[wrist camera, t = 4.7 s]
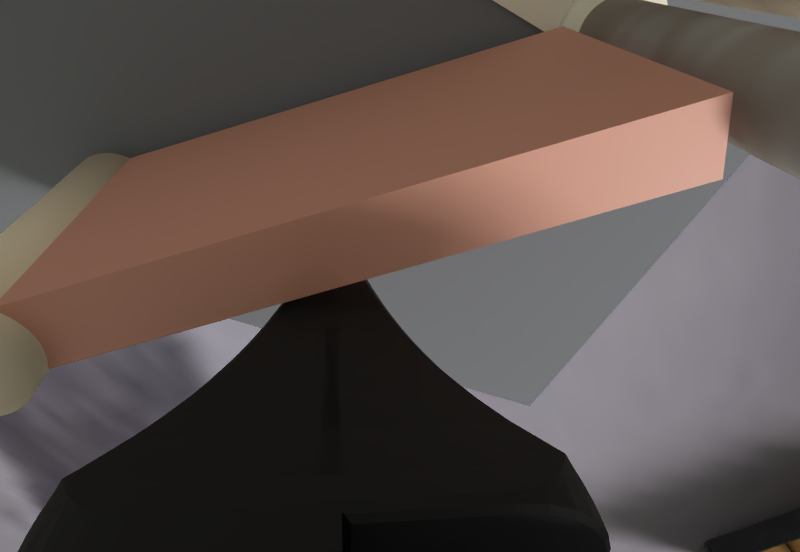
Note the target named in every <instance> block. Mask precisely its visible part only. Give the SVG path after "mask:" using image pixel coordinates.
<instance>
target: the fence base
mask: <svg viewBox="0 0 800 552" xmlns="http://www.w3.org/2000/svg"><path fill="white" fill-rule="evenodd" d="M695 1H701V2H706V3H712V4H718V5H724V6H730V7H735V8H741V9H747V10H753V11H759V12H764V13H770V14H776V15H782V16H787V17H793V18H799V19H800V0H695ZM579 33H582V34H584V35H587V36H589V37H592V38H595V39H597V40H600V41H602V42H605V43H608V44H610V45H613V46H615V47H618V48H620V49H623V50H626V51H628V52H631V53H633V54H636V55H639V56H641V57H644V58H646V59H649V60H652V61H654V62H657V63H659V64H662V65H665V66H667V67H670V68H672V69H675V70H678V71H680V72H683V73H685V74H688V75H691V76H693V77H696V78H698V79H701V80H703V81H706V82H709V83H711V84H714V85H716V86H719V87H722V88H724V89H727V90H729V91H732V92H733V99H732V107H731V116H730V124H729V132H728V140H727V142H728V143H730V144H732V145H734V146H736V147H738V148H740V149H742V150H744V151H745V152H747V153H749V154H751V155H753V156H755V157H757V158H759V159H761V160H763V161H765V162H767V163H769V164H770V165H772V166H774V167H776V168H778V169H780V170H782V171H784V172H786V173H788V174H790V175H792V176H794V177H796V178H797V179H799V180H800V32H798V31H793V30H788V29H783V28H778V27H773V26H768V25H763V24H758V23H753V22H748V21H744V20H739V19H734V18H729V17H724V16H719V15H714V14H709V13H704V12H699V11H694V10H689V9H684V8H679V7H674V6H669V5H664V4H659V3H654V2H649V1H644V0H605V1H603V2H601V3H600V4H598V5H597V6H596V7H595V8H594V9H593V10H592V11H591V12H590V13H589V14H588V15H587V17H586V18H585V20H584V22H583V23H582V26H581V28H580V31H579Z"/></svg>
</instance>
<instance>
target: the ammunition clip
mask: <svg viewBox="0 0 800 552" xmlns="http://www.w3.org/2000/svg"><path fill="white" fill-rule="evenodd" d="M705 548H706V550H707V552H800V508H799V509H796V510H793V511H790V512H788V513H785V514H782V515H779V516H776V517H773V518H771V519H768V520H765V521H762V522H759V523H757V524H754V525H751V526H748V527H745V528H742V529H740V530H737V531H734V532H731V533H728V534H725V535H723V536H720V537H717V538H714V539H711V540H709V541H707V543H706V545H705Z"/></svg>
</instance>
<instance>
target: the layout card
mask: <svg viewBox="0 0 800 552" xmlns="http://www.w3.org/2000/svg"><path fill="white" fill-rule="evenodd" d="M603 1H605V0H0V234H1V233H2V232H3V231H4V230H5V229H7V228H8V227H9V226H10V225H11V224H12V223H13V222H14V221H16V220H17V219H18V218H19V217H20V216H21V215H22V214H23V213H25V212H26V211H27V210H28V209H29V208H30V207H31V206H33V205H34V204H35V203H36V202H37V201H38V200H39V199H40V198H42V197H43V196H44V195H45V194H46V193H47V192H48V191H50V190H51V189H52V188H53V187H54V186H55V185H56V184H57V183H59V182H60V181H61V180H62V179H63V178H64V177H65V176H67V175H68V174H69V173H70V172H71V171H72V170H73V169H74V168H76V167H77V166H78V165H79V164H80V163H81V162H82V161H84V160H85V159H86V158H88V157H90V156H92V155H94V154H99V153H115V154H119V155H123V156H126V157H128V158H130V159H131V158H132V157H136V156H139V155H142V154H145V153H149V152H152V151H155V150H159V149H162V148H165V147H168V146H172V145H175V144H178V143H182V142H185V141H188V140H191V139H195V138H198V137H201V136H205V135H208V134H211V133H214V132H218V131H221V130H224V129H227V128H231V127H234V126H237V125H241V124H244V123H247V122H250V121H254V120H257V119H260V118H264V117H267V116H270V115H273V114H277V113H280V112H283V111H287V110H290V109H293V108H296V107H300V106H303V105H306V104H309V103H313V102H316V101H319V100H323V99H326V98H329V97H332V96H336V95H339V94H342V93H346V92H349V91H352V90H355V89H359V88H362V87H365V86H369V85H372V84H375V83H378V82H382V81H385V80H388V79H392V78H395V77H398V76H401V75H405V74H408V73H411V72H414V71H418V70H421V69H424V68H428V67H431V66H434V65H437V64H441V63H444V62H447V61H451V60H454V59H457V58H460V57H464V56H467V55H470V54H474V53H477V52H480V51H483V50H487V49H490V48H493V47H496V46H500V45H503V44H506V43H510V42H513V41H516V40H519V39H523V38H526V37H529V36H533V35H536V34H539V33H542V32H546V31H549V30H552V29H556V28H559V27H562V26H563V27H566V28H569V29H571V30H574V31H576V32H579V31H580V28H581V26H582V23H583V22H584V20H585V18H586V17H587V15H588V14H589V13H590V12H591V11H592V10H593V9H594V8H595V7H596V6H597V5H598V4H600V3H601V2H603ZM644 1H649V2H654V3H659V4H664V5H669V6H674V7H679V8H684V9H689V10H694V11H699V12H704V13H709V14H714V15H719V16H724V17H729V18H734V19H739V20H744V21H748V22H753V23H758V24H763V25H768V26H773V27H778V28H783V29H788V30H793V31H798V32H800V19H799V18H793V17H787V16H782V15H776V14H770V13H764V12H759V11H753V10H747V9H741V8H735V7H730V6H724V5H718V4H712V3H706V2H701V1H695V0H644ZM749 155H750V154H749V153H747V152H745V151H744V150H742V149H740V148H738V147H736V146H734V145H732V144H730V143H728V142H727V149H726V157H725V165H724V173H723V179H722V180H718V181H715V182H711V183H707V184H704V185H700V186H697V187H693V188H690V189H686V190H683V191H679V192H675V193H672V194H668V195H665V196H661V197H658V198H654V199H651V200H647V201H644V202H640V203H636V204H633V205H629V206H626V207H622V208H619V209H615V210H612V211H608V212H604V213H601V214H597V215H594V216H590V217H587V218H583V219H580V220H576V221H573V222H569V223H565V224H562V225H558V226H555V227H551V228H548V229H544V230H541V231H537V232H533V233H530V234H526V235H523V236H519V237H516V238H512V239H509V240H505V241H502V242H498V243H494V244H491V245H487V246H484V247H480V248H477V249H473V250H470V251H466V252H463V253H459V254H455V255H452V256H448V257H445V258H441V259H438V260H434V261H431V262H427V263H423V264H420V265H416V266H413V267H409V268H406V269H402V270H399V271H395V272H392V273H388V274H384V275H381V276H377V277H374V278H370V279H367V280H368V282H369V283H370V285H371V287H372V288H373V290H374V291H375V293H376V294H377V296H378V297H379V299H380V300H381V302H382V303H383V305H384V306H385V307H386V309H387V310H388V311H389V313H390V314H391V315H392V317H393V318H394V319H395V320H396V322H397V323H398V324H399V326H400V327H401V328H402V329H403V330H404V332H405V333H406V334H407V335H408V336H409V337H410V338H411V340H412V341H413V342H414V343H415V344H416V345H417V346H418V347H419V348H420V349H421V350H422V351H423V352H424V353H425V354H426V355H427V356H428V357H429V358H430V359H431V360H432V361H433V362H434V363H435V364H436V365H437V366H438V367H439V368H440V369H441V370H442V371H444V372H445V373H446V374H447V375H448V376H450V377H451V378H452V379H453V380H455V381H456V382H457V383H458V384H459V385H461V386H463V387H466V388H470V389H473V390H477V391H480V392H483V393H487V394H490V395H494V396H497V397H501V398H504V399H507V400H511V401H514V402H518V403H521V404H525V405H528V406H530V405H531V404H532V403H533V402H534V401H535V399H536V398H537V397H538V396H539V395H540V394H541V393H542V391H543V390H544V389H545V388H546V387H547V386H548V385H549V383H550V382H551V381H552V380H553V379H554V378H555V377H556V375H557V374H558V373H559V372H560V371H561V370H562V369H563V367H564V366H565V365H566V364H567V363H568V362H569V361H570V359H571V358H572V357H573V356H574V355H575V354H576V353H577V351H578V350H579V349H580V348H581V347H582V346H583V345H584V343H585V342H586V341H587V340H588V339H589V338H590V337H591V335H592V334H593V333H594V332H595V331H596V330H597V329H598V327H599V326H600V325H601V324H602V323H603V322H604V321H605V319H606V318H607V317H608V316H609V315H610V314H611V313H612V311H613V310H614V309H615V308H616V307H617V306H618V304H619V303H620V302H621V301H622V300H623V299H624V298H625V296H626V295H627V294H628V293H629V292H630V291H631V290H632V288H633V287H634V286H635V285H636V284H637V283H638V282H639V280H640V279H641V278H642V277H643V276H644V275H645V274H646V272H647V271H648V270H649V269H650V268H651V267H652V266H653V264H654V263H655V262H656V261H657V260H658V259H659V258H660V256H661V255H662V254H663V253H664V252H665V251H666V250H667V248H668V247H669V246H670V245H671V244H672V243H673V242H674V240H675V239H676V238H677V237H678V236H679V235H680V234H681V232H682V231H683V230H684V229H685V228H686V227H687V226H688V224H689V223H690V222H691V221H692V220H693V219H694V218H695V216H696V215H697V214H698V213H699V212H700V211H701V210H702V208H703V207H704V206H705V205H706V204H707V203H708V202H709V200H710V199H711V198H712V197H713V196H714V195H715V194H716V192H717V191H718V190H719V189H720V188H721V187H722V186H723V184H724V183H725V182H726V181H727V180H728V179H729V178H730V176H731V175H732V174H733V173H734V172H735V171H736V170H737V168H738V167H739V166H740V165H741V164H742V163H743V162H744V160H745V159H746V158H747V157H748V156H749ZM281 304H282V303H281ZM281 304H278V305H274V306H271V307H267V308H264V309H260V310H257V311H253V312H250V313H246V314H242V315H239V316H235V317H232V318H229V319H233V320H236V321H240V322H243V323H247V324H250V325H253V326H257V327H260V328H263V327H264V326H265V324H266V323H267V322H268V321H269V319H270V318H271V317H272V315H273V314H274V313H275V312H276V310H277V309H278V308H279V307H280V305H281Z"/></svg>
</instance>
